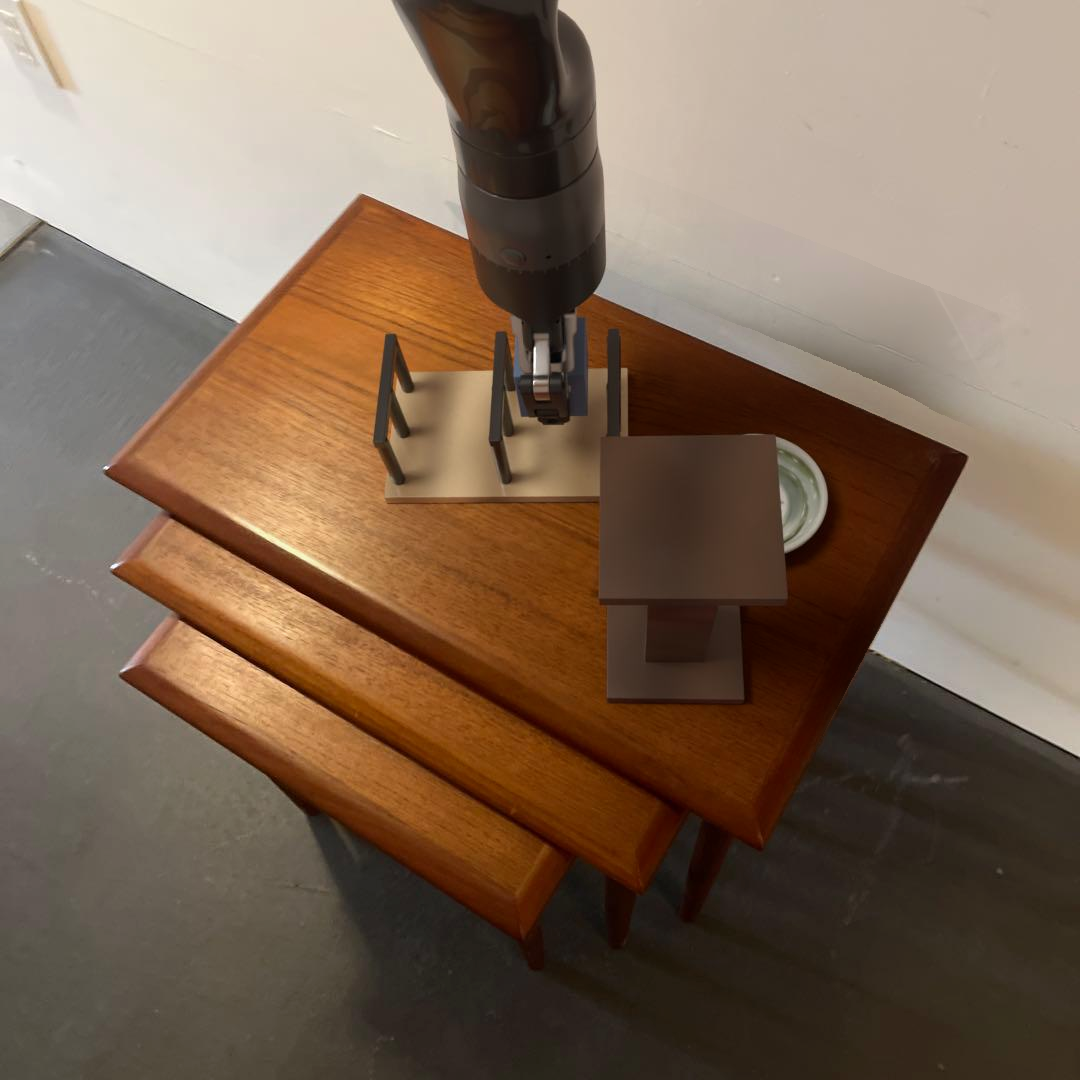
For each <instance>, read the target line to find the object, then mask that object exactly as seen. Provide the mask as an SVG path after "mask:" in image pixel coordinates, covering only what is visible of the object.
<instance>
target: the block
mask: <svg viewBox="0 0 1080 1080" xmlns="http://www.w3.org/2000/svg"><path fill="white" fill-rule="evenodd" d="M514 336H515V335H514ZM574 341H575V367H574V370H573V371H572V372H570V373H568V379H569V385H571V393H569V404H570V416H587V415H588V369H589V347H588V331H587V317H586V316H577V331H576V333H575V334H574ZM564 349H565V338H564V345H563V347H562V348H561V349H560V350H559V351H562V350H564ZM513 354H514V358H513V367H514V374H513V377H514V382H515V388H516V393H517V398H518V404H519V409H520V414H521V417H529V416H528V414H527V412H526V408H525V405H524V402H523V400H522V397H521V393H520V390H518V381H520V375H523V372H522V371H521V370H520V366H519V356H518V346H517V338H516V336H515V337H514V353H513Z"/></svg>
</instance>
